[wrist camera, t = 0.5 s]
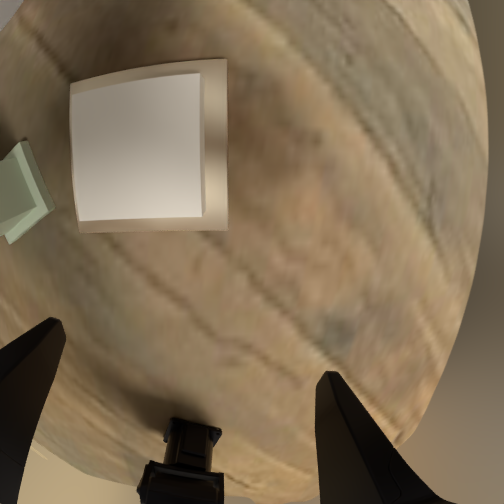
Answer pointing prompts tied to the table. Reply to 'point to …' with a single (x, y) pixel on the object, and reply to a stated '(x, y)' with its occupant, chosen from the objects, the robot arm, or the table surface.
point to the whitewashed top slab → (140, 149)
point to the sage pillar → (21, 193)
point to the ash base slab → (214, 146)
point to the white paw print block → (8, 10)
